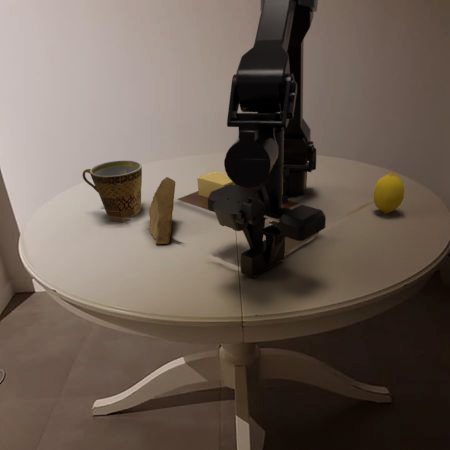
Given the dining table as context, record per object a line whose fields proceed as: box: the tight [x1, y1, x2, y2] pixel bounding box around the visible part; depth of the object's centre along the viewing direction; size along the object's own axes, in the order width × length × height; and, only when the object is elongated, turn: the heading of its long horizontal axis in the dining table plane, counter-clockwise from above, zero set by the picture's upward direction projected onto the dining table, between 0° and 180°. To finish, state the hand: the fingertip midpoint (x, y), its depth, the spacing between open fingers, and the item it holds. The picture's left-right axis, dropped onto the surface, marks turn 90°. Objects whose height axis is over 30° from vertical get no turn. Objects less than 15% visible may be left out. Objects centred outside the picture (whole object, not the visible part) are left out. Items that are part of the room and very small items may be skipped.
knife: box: [239, 231, 320, 279], centre depth 77 cm, size 19×2×4 cm, turn 136°
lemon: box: [372, 172, 405, 215], centre depth 89 cm, size 6×6×8 cm
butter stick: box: [196, 171, 235, 198], centre depth 100 cm, size 5×8×4 cm, turn 46°
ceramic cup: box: [82, 160, 143, 223], centre depth 94 cm, size 13×10×10 cm
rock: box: [147, 176, 176, 245], centre depth 87 cm, size 11×9×10 cm
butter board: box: [176, 190, 299, 221], centre depth 98 cm, size 14×22×1 cm, turn 46°
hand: (263, 260), depth 74 cm, fingers closed on knife, 2 cm apart
